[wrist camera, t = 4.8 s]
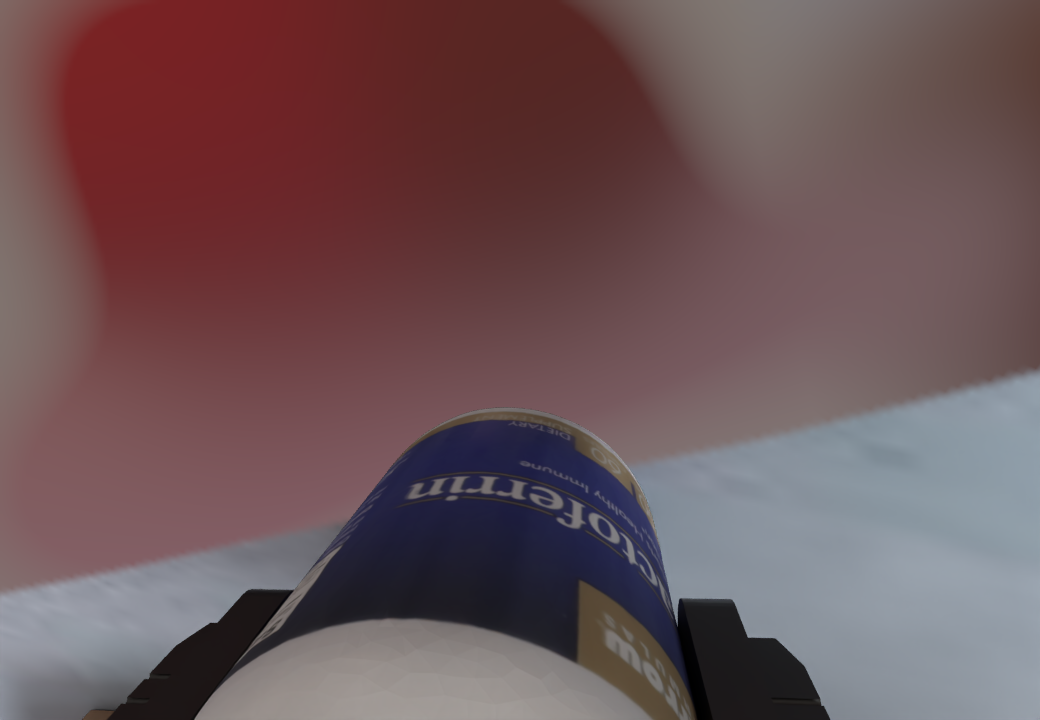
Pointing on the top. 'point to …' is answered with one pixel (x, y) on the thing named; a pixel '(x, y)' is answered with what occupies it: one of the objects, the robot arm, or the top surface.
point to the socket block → (98, 715)
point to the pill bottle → (479, 592)
